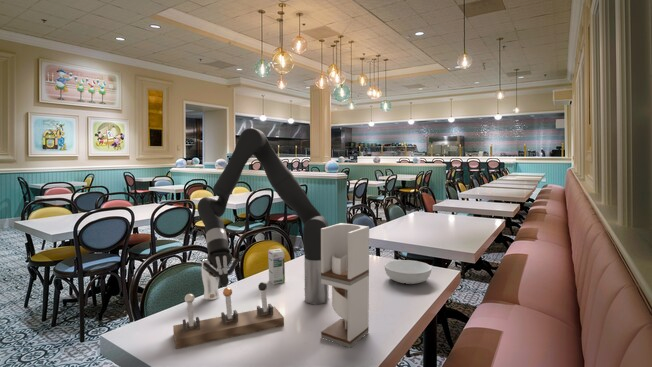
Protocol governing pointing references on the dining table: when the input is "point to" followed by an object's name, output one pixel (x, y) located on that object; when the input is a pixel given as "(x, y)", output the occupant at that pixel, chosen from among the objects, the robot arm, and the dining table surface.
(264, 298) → the black lever
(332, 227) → the display case
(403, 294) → the dining table surface
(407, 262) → the serving bowl
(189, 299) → the cream lever
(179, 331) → the switch panel
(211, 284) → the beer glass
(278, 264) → the syrup box
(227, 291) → the orange lever
